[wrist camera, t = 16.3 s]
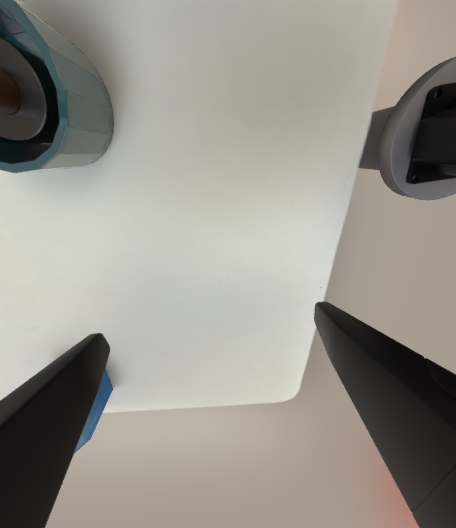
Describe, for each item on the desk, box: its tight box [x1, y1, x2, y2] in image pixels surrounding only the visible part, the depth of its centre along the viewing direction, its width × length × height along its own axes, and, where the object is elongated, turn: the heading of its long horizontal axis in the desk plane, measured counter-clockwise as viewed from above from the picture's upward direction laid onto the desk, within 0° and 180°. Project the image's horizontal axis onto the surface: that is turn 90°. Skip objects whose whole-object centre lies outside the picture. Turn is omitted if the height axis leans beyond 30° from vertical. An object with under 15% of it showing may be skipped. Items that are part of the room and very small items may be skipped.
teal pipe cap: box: [0, 0, 113, 173], centre depth 13 cm, size 8×8×6 cm
